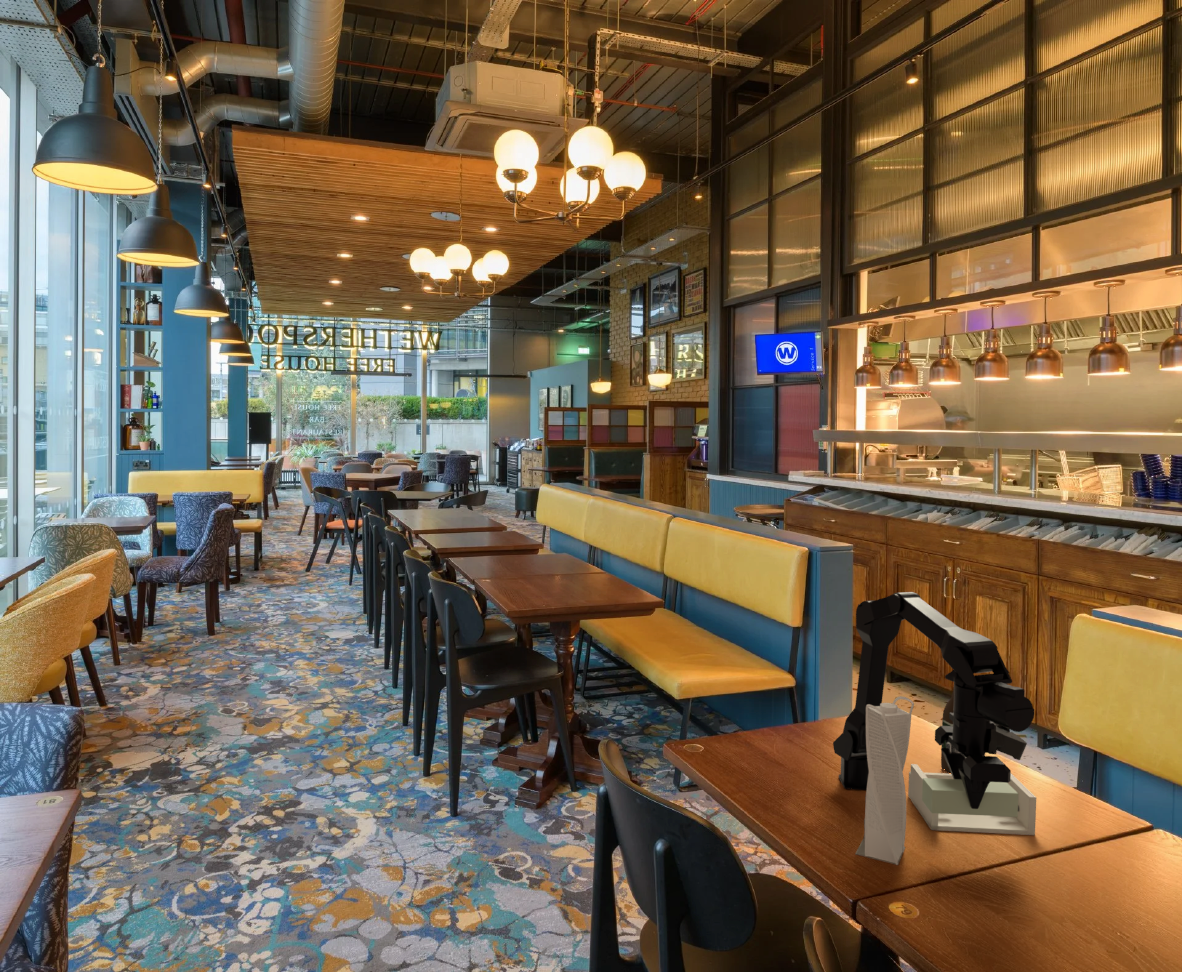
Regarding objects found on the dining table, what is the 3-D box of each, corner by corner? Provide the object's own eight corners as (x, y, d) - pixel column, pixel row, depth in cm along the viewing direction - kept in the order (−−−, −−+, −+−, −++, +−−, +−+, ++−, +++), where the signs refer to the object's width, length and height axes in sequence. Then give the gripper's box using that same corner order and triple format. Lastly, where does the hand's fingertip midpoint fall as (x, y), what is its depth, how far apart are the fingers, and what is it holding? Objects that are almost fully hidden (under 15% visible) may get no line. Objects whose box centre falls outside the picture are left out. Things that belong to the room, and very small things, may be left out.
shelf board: (931, 813, 138) (932, 789, 138) (922, 800, 143) (922, 777, 143) (1017, 816, 137) (1018, 793, 136) (1004, 803, 142) (1005, 781, 141)
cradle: (931, 829, 149) (932, 792, 149) (908, 796, 164) (909, 761, 163) (1035, 835, 148) (1036, 797, 147) (1002, 800, 162) (1003, 766, 162)
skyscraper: (914, 851, 142) (918, 693, 140) (905, 872, 135) (910, 706, 134) (864, 839, 146) (868, 685, 145) (853, 858, 139) (858, 697, 138)
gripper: (1046, 733, 129) (1042, 829, 130) (998, 697, 147) (995, 781, 148) (973, 730, 130) (970, 825, 131) (935, 694, 148) (932, 778, 149)
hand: (968, 801), depth 140 cm, fingers closed on shelf board, 5 cm apart
